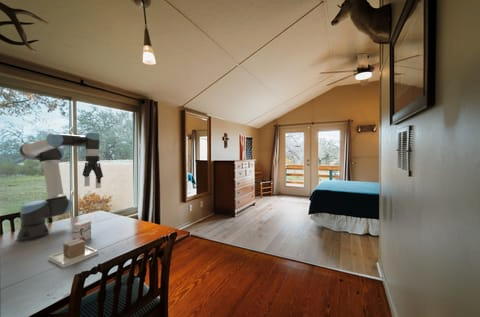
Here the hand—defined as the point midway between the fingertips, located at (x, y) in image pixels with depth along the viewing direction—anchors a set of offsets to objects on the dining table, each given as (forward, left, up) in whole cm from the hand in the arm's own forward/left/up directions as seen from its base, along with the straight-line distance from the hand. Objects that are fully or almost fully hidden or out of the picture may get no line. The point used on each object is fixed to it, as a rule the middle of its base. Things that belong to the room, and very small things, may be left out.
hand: (92, 187), depth 133 cm
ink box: (-2, -5, -35) cm, 35 cm away
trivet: (+18, -18, -35) cm, 43 cm away
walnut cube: (+18, -18, -34) cm, 42 cm away
